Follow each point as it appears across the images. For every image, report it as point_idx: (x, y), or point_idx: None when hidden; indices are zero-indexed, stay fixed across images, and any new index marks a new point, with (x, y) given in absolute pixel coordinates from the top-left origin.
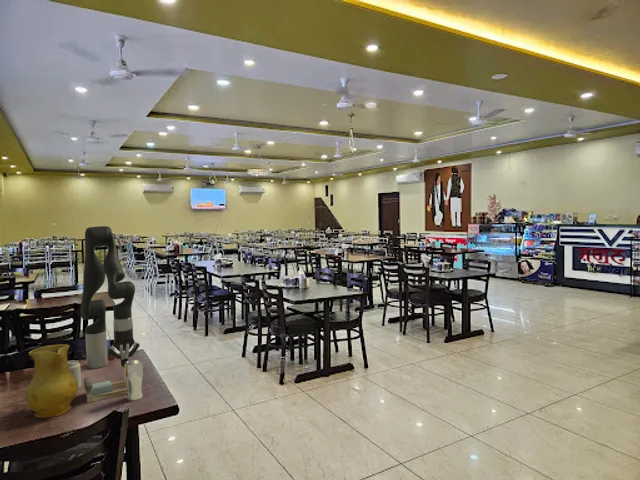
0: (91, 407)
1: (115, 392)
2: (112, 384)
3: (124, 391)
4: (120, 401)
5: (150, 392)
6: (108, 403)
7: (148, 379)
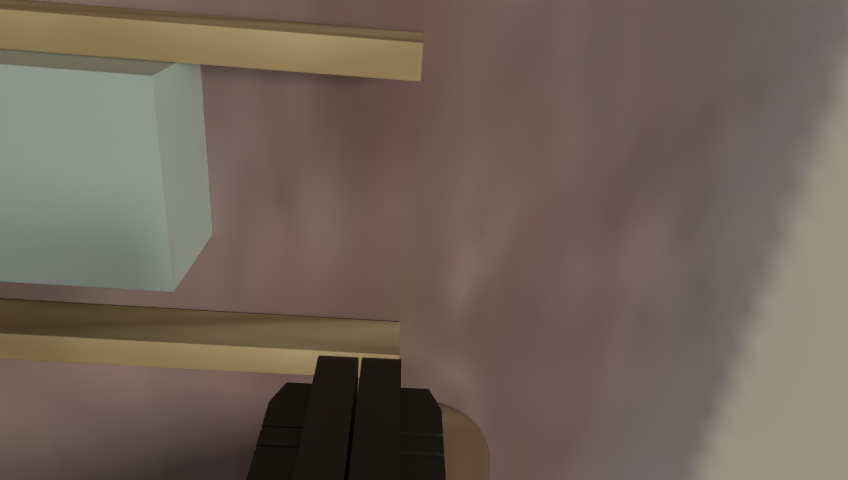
0: (8, 439)
1: (230, 364)
2: (207, 61)
3: None
4: None
5: (578, 435)
6: (165, 444)
7: (738, 35)
